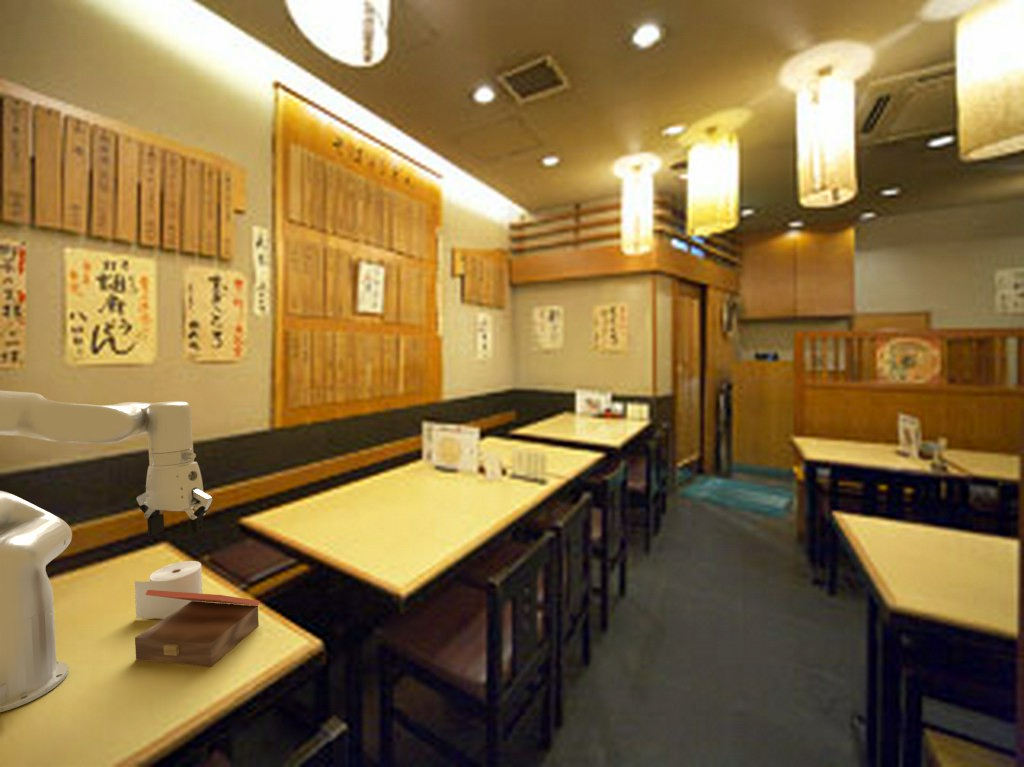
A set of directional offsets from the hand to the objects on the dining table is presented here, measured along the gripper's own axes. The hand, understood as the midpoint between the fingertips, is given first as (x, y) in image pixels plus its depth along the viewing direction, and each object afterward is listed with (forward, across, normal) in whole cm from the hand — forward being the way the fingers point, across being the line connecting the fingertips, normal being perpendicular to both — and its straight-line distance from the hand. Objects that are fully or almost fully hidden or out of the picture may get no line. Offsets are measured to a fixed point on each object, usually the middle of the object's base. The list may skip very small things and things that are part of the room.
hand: (176, 534), depth 92 cm
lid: (+18, -2, -5) cm, 18 cm away
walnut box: (+27, -2, -3) cm, 27 cm away
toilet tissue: (+27, +16, -14) cm, 35 cm away
